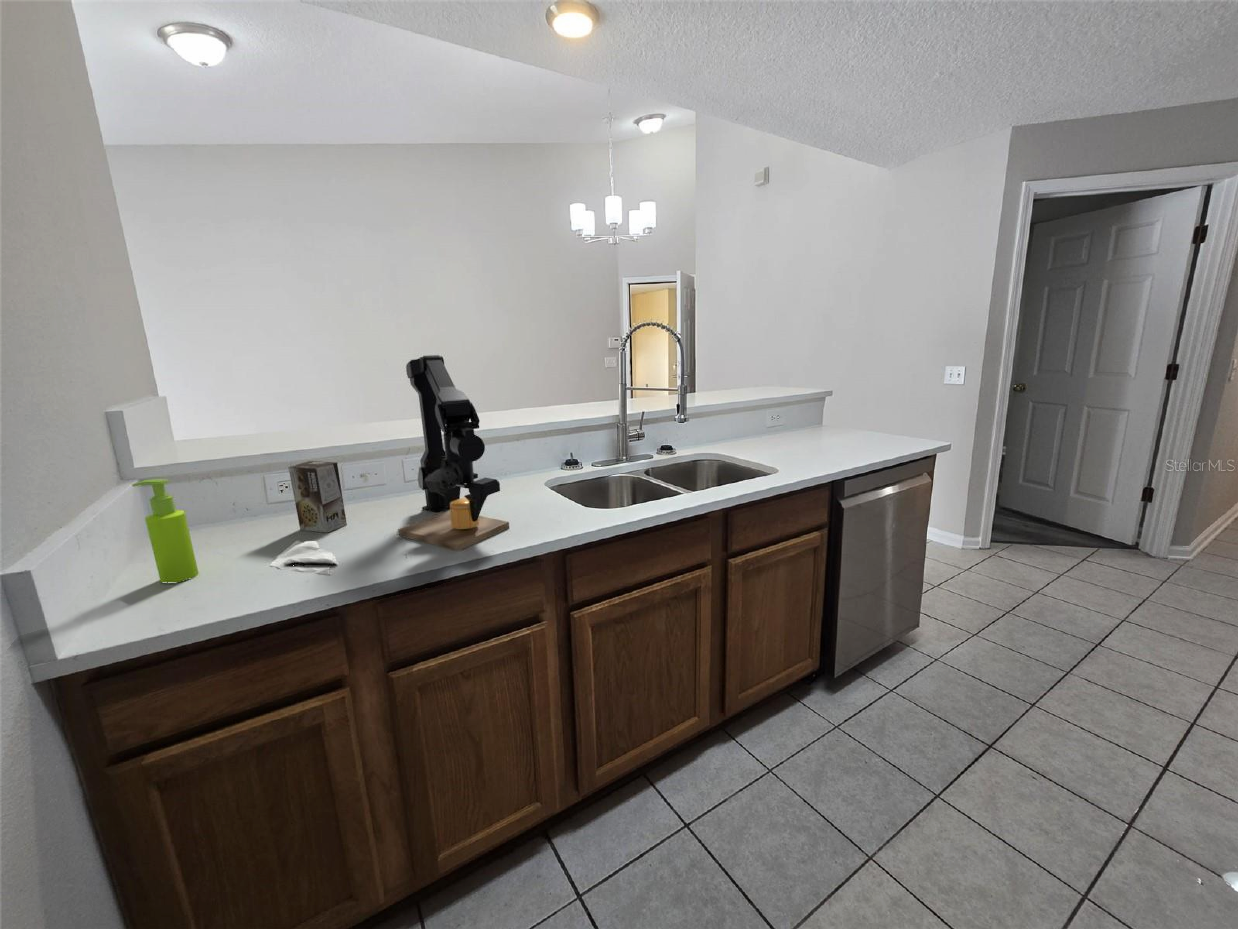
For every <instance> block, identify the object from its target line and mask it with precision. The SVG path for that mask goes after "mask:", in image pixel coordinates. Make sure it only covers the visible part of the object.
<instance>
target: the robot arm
mask: <svg viewBox="0 0 1238 929" xmlns="http://www.w3.org/2000/svg"><path fill="white" fill-rule="evenodd" d="M405 369H406V376H407V378H408V379H409V382H410V385H411V387H412V388H413V389H414V391H415V392H416V393H417V394H418V400H419V409H420V410H419V411H420V415H421V416H420V418H421V424H422V426H421V427H422V431H423V442H424V452H423V454H422V455H421V458H420V459H419V460H420V463H419V464H420V467H419V468H418V476H417V483H418V487H419V488H420V489H421V490H422V491H424V494H425V503H426V505H424V506H422V507H421V509H422V510H425V511H428V512H429V511H430V512H435V513H439V512H442V511H445V510H448V509H449V510H450V502H451V501H453V500H456V499H461V498H460V497H461V488H464V489H467V490H468V494H466V495H464V496H463V498H466V499H468V500H469V504H470V510H471V517H472V521H474V522H475V521H477V519H478V517H479V516H480V514H481V512H482V509H483V507H484V504H485V503H486V500H487V497H488V496H490V495H493V494H495V493H499V492H500V491H501V484H500V481H499V480H498V479H496V478H490V477H483V478H480V479H478V478H479V475H478V473H475V472H474V462H477V461H478V460H480V459H481V458H482V457H483V455H484V453H485V451H486V447H485V442H484V440H483V439H482V438H481V437H480V436H479V435H476V434H475V430H477V429H478V430H479V429H480V418H479V416H478V413H477V410H476V408H475V406H474V404H473V402H472V401H470V399H469V397H468V396H467V395H466V393H465V392H463V391H462V390H459V389H458V388H456V385H455V384H454V382H453V380H452V378H451V376H450V374H449V371H448V370H447V369H446V366H445V359H444V357H443V356H442V355H439V354H431V355H428V354H427V355H423V356H421V357H418V358H416V359H410V360H409V361H408V362H407V363H406V366H405ZM442 432H443V433H442ZM443 442H444V443H443ZM475 479H477V480H475Z"/></svg>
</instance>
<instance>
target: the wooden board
mask: <svg viewBox="0 0 1238 929" xmlns="http://www.w3.org/2000/svg"><path fill="white" fill-rule="evenodd" d="M478 519H479V525H477V526H475V527H473V528H472V529H470V530H466V531H462V530H460V529H456V528H452V524H451V515H450V509H449V510H447V511H444V512H441V513H439V514H436V515H432V516H431V517H427V518H425V519H422V520H420V521H417V522H415V523H412V524H409V525H406V526H403V527H399V528H398V529H397V534H398V536H399V537H403V538H407V537H408V538H407V539H411V540H415V541H418V542H422V543H427V544H430V545H434V544H435V545H434V546H438V545H439V546H438V547H441V548H442V547H443V548H446V549H449V548H450V550H454V551H457V552H459V551H461V550H464V549H466V548H469V547H470V545H471V546H472V544H473V545H475V544H478V543H479V542H481V541H483V540H486V539H487V537H488V538H489V537H490V538H491V537H492V536H494V534H495V535H497V534H499V533H501V532H504V531H505V530H507V528H508V529H510V521H506V520H501V519H496V518H493V517H492V518H491V517H488V516H482V515H479V517H478ZM500 531H501V532H500Z"/></svg>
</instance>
